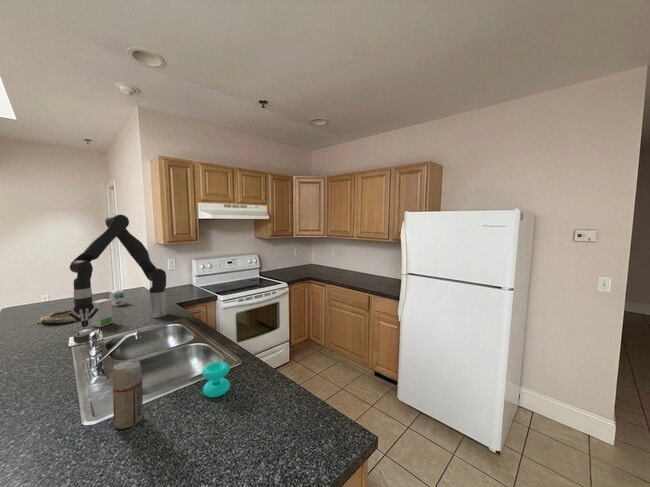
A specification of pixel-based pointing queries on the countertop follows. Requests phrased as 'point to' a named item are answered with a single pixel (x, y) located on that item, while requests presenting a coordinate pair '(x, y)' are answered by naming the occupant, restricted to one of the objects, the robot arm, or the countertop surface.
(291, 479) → the countertop surface
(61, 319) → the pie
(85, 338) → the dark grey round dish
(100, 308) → the skincare box
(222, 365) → the teal spool
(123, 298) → the light bulb box
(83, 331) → the cap
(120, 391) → the brown cylinder
